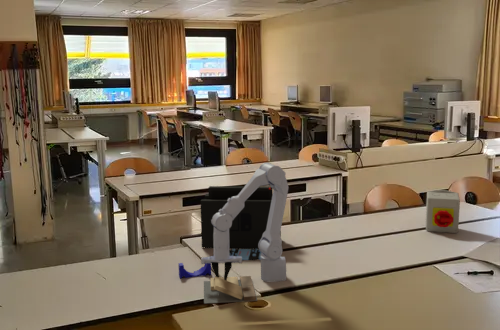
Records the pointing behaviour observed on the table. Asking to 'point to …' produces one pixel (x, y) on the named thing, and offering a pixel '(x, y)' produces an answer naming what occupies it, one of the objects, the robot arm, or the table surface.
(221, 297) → the underlay mat
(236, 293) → the oak plank near
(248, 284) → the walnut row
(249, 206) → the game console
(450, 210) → the electrical switch box
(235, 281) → the oak plank far
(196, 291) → the table surface
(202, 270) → the blue cradle bracket
